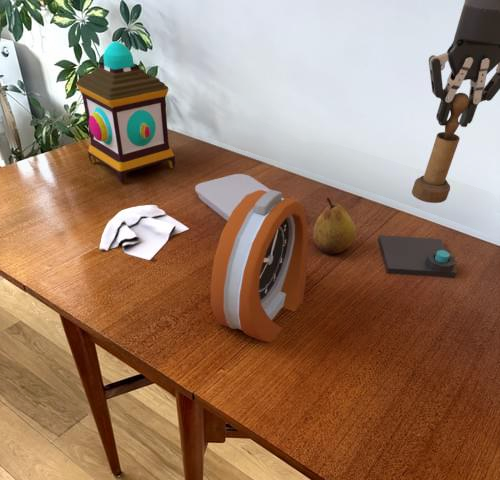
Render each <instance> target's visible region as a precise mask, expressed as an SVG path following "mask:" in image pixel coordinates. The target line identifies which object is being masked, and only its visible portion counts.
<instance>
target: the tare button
mask: <svg viewBox="0 0 500 480" xmlns="http://www.w3.org/2000/svg"><path fill="white" fill-rule="evenodd" d="M450 255H451V254H450V253H449V251H447V250H446V251H444V250H439V251H437V253H436V256H435V260H436V261H438V262H441V263H447V262H448V259H449V257H450Z"/></svg>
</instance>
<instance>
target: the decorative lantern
mask: <svg viewBox="0 0 500 480" xmlns="http://www.w3.org/2000/svg"><path fill="white" fill-rule="evenodd" d="M75 86H76V88H77V89H78V91H79V92H80V94H81V96H82V102H83V107H84V112H85V117H86V123H87V126H88V127H87V128H88V133H89V138H90V143H89V146H88V150H87V155H88V159H89V161H90V163H91V164H96V162H97V160H98V161H99V162H100V163H102V164H104V165H106V167H108V168H110V169H111V170H113V171H115V172H116V174H117V175H118V179H119V182H120V183H121V184H125V183H126V175H127V174H129V173H130V172H133V171H137V170H140V169H144V168H147V167H151V166H153V165H158V164H161V163H164V162H168V166H169V168H170V169H174V168H175V167H176V157H175V154H174V152H173V150H172V149H171V147H170V143H169V133H168V132H169V131H168V119H167V106H166V105H167V104H166V97H167V95H168V92H169V87H168V86H167V85H166V83H164V82H163V81H161V80H160V78H158V77H156V76H153V75H151V74H149V73H147V72H145V70H144V69H142V68H140V65H139V64H136V63H134V56H133V53H132V52H131V51H130V49H129V48H128V47H127V46H126V45H124V43H122V42H120V41H117V40H116V41H113V42H110V43H109V44H108V46H107V47H106V48H105V50H104V52H103V62H99V66H97V67H95V70H91V72H89V73H84V74H82V75H81V77H79V78H78V79H77V80H76V81H75Z"/></svg>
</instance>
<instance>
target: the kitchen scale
mask: <svg viewBox="0 0 500 480" xmlns="http://www.w3.org/2000/svg"><path fill="white" fill-rule="evenodd" d="M377 242H378V246H379V249H380V253H381V257H382V260H383V264H384V267H385V271H386V274H388V275H389V274H391V275H405V276H406V275H407V276H421V277H435V278H436V277H437V278H450V279H455V278H456V276H457V270H456V268H455V264H456V258H455V257H454V256H453V255H452V254H450V257H449V259H448V262H447V263H441V262H438V261H436V260H435V256H436V253H437V251H439V250H444V251H447V249H446V246H445V244H444V242H443V239H442V238H429V237H427V238H426V237H412V236H398V235H383V234H381V235H380V234H379V235H378V239H377Z"/></svg>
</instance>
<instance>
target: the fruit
mask: <svg viewBox="0 0 500 480" xmlns="http://www.w3.org/2000/svg"><path fill="white" fill-rule="evenodd" d="M326 201H327V202H328V203H329V205H328V206H326V207H325V209H324V210H323V211H322V213H321V214H320V215H319V216H318V218H317V219H316V221H315V223H314V226H313V231H312V233H313V234H312V238H313V242H314V244H315V246H316V248H317V249H318V250H319V251H321V252H322V253H324V254H326V255H336V254H340V253H343V252H344V251H345V250H347V249H348V248H350V247H351V245H352V243H353V242H354V240H355V237H356V228H355V224H354V222H353V219H352V217H351V216H350V215H349V213H348V212H347V211H346V209H344V207H343V206H342V205H340V204H339V203H332V201H331V199H330V198H329V197H326Z"/></svg>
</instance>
